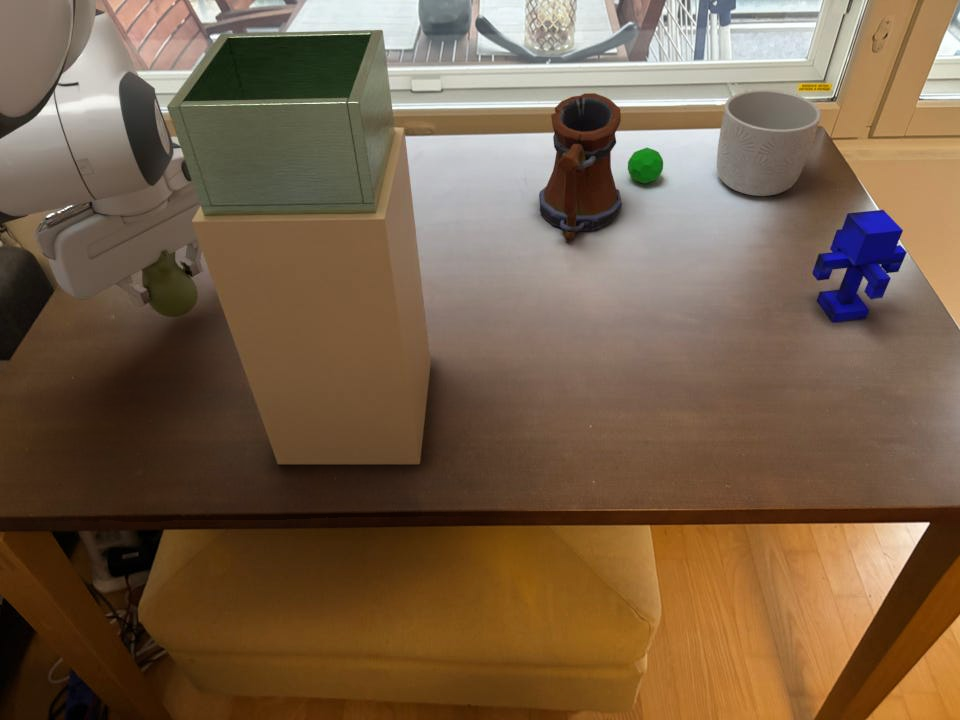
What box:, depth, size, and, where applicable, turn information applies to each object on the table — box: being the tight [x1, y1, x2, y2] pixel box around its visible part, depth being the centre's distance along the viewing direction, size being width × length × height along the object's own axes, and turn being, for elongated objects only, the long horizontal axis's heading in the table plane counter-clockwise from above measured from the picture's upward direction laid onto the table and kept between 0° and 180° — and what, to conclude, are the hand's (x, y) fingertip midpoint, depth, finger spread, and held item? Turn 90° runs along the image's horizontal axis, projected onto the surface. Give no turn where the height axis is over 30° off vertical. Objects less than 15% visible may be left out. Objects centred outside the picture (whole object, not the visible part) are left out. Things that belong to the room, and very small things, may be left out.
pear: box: [141, 250, 199, 318], centre depth 84 cm, size 6×5×10 cm
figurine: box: [811, 209, 908, 323], centre depth 83 cm, size 8×8×12 cm
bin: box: [166, 29, 431, 465], centre depth 65 cm, size 14×14×36 cm
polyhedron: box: [627, 147, 664, 184], centre depth 107 cm, size 5×5×5 cm
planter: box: [716, 89, 822, 197], centre depth 104 cm, size 12×12×11 cm
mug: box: [538, 92, 623, 242], centre depth 96 cm, size 18×12×15 cm, turn 164°
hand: (169, 287), depth 85 cm, fingers closed on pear, 5 cm apart
